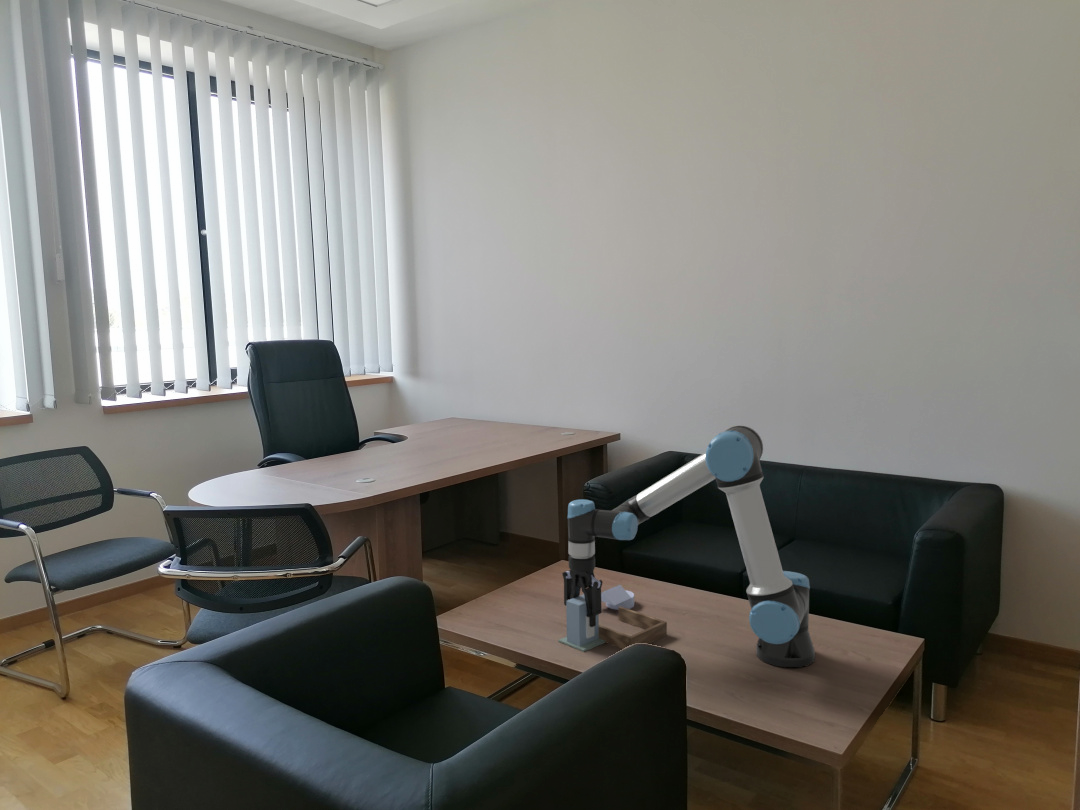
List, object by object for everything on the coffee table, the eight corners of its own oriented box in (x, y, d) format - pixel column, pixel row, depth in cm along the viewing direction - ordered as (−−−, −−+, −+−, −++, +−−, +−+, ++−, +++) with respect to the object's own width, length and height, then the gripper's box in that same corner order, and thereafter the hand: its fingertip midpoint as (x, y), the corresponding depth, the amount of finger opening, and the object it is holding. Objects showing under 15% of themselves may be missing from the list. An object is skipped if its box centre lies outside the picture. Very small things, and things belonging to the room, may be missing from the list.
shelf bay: (666, 635, 229) (666, 621, 229) (631, 652, 218) (630, 638, 218) (620, 619, 242) (620, 606, 241) (584, 634, 231) (584, 621, 230)
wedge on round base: (614, 615, 245) (640, 604, 254) (614, 594, 244) (639, 583, 253) (592, 608, 251) (617, 597, 260) (592, 588, 250) (617, 577, 259)
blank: (598, 638, 227) (598, 597, 225) (579, 646, 221) (578, 605, 220) (586, 633, 230) (585, 593, 229) (566, 641, 225) (566, 600, 224)
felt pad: (607, 641, 226) (607, 639, 226) (583, 651, 219) (583, 650, 219) (582, 631, 233) (582, 629, 233) (558, 641, 226) (558, 639, 226)
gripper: (614, 558, 219) (615, 638, 222) (568, 545, 232) (569, 621, 235) (596, 564, 214) (597, 647, 217) (549, 551, 227) (551, 628, 230)
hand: (582, 633), depth 226 cm, fingers closed on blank, 5 cm apart
